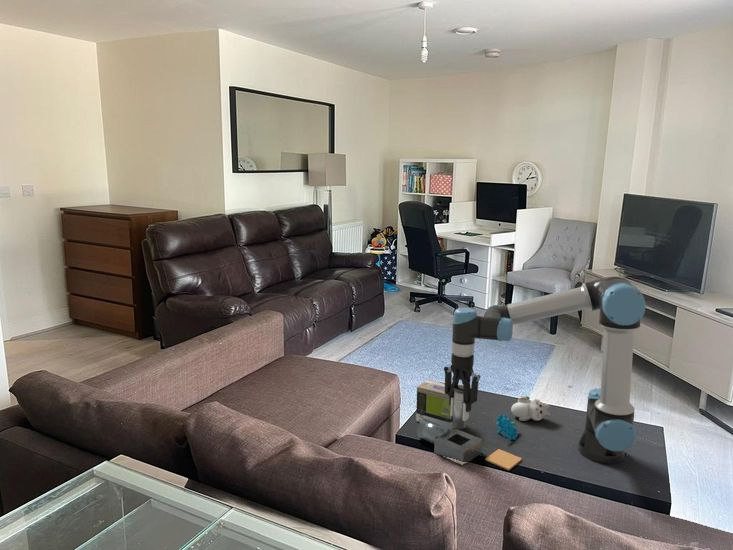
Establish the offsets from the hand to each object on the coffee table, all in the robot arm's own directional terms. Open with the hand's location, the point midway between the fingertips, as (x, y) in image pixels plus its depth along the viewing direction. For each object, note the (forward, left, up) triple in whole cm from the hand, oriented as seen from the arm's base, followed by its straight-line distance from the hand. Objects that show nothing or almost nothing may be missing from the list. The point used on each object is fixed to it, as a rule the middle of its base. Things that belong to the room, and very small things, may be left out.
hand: (459, 416), depth 184 cm
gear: (-6, -23, -14) cm, 28 cm away
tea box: (+19, -14, -14) cm, 27 cm away
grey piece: (+5, 0, -14) cm, 15 cm away
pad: (-14, -7, -14) cm, 21 cm away
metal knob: (0, 0, -3) cm, 3 cm away
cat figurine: (-6, -42, -14) cm, 45 cm away
